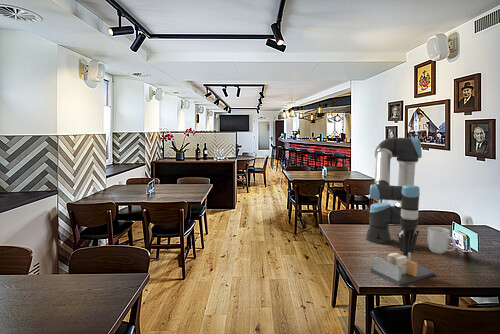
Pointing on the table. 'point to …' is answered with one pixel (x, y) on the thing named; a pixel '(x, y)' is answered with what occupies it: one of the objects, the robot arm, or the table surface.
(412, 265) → the bar
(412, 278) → the base
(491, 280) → the table surface
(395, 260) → the block
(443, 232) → the mug
